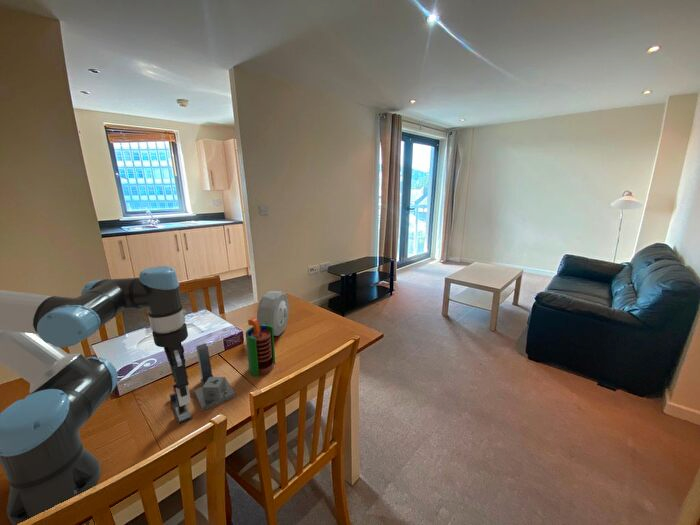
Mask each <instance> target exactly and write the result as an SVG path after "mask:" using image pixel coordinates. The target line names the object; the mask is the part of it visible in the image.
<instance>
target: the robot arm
mask: <svg viewBox="0 0 700 525" xmlns="http://www.w3.org/2000/svg"><path fill="white" fill-rule="evenodd" d="M138 276H139V277H129V278H102V279H99V280H92V281H89V282H87V283H86V284H85V285H84V288H83V289H82V290H81V291H80V295H79V296H77V297H67V296H66V297H65V296H57V295H55V296H54V295H47V294H46V295H45V294H38V293H31V292H30V293H29V292H23V291H22V292H20V291H15V290H13V291H12V290H4V289H3V290H2V289H0V364H1V365H2V366H4V367H5V368H7V369H8V370H10V371H11V372H13V373H15V374H16V375H18V377H20V378H21V379H23V380H25V381H26V382H28V383H29V385H30V386H29V394H28V395H26V396H25V397H24V398H23V399H18V400H16V401H15V402H12V404H10V405H9V406H7V407H6V408H5V409H3V410H2V411H1V412H0V465H1V468H2V470H3V472H4V474H5V476H6V479H7V481H8V483H9V493H8V500H7V505H6V514H7V517H8V521H9V522H10V524H11V525H17V524H18V523H20V522H23V521H25V520H27V519H29V518H31V517H33V516H35V515H37V514H39V513H41V512H44V511H45V510H48V509H50V508H52V507H54V506H55V505H57V504H59V503H62V502H64V501H66V500H68V499H70V498H72V497H74V496H76V495H78V494H80V493H82V492H84V491H86V490H88V489H90V488H92V487H93V486H95V485H96V486H97V483H98V482H99V480H100V478H101V474H102V473H101V472H102V469H101V465H100V461H99V460H98V459H97V457H96V456H94V454H92V453H91V452H90V451H89V450H88V449H87V448H85V447H84V446H83V442H82V439H81V435H80V430H81V429H82V428H83V427H84V425H85V424H86V423H87V422H88V421H89V419H91V417H92V416H93V415H94V413H96V411H97V410H98V409H99V408H100V407H101V405H102V404H103V403H104V402H106V401H107V400H108V399H109V398H110V395H111V394H112V393H113V391H114V390H115V388H116V387H117V384H118V381H119V380H118V378H119V377H118V375H119V374H118V371H117V368H116V367H115V366H114V365H113V363H112V362H110V361H109V360H108V359H106V358H103V357H100V356H99V357H96V356H90V357H89V356H88V357H85V355H83V354H81V353H68V352H66V351H65V350H64V349H62V348H69V347H73V346H75V345H78V344H80V343H81V342H83V341H84V340H86V339H89V337H91V336H92V335H94V334H96V332H97V331H98V330H99V329H100V328H102V327H103V326H104V325H106V324H107V323H109V322H110V321H111V320H112V319H114V318H115V317H117V316H118V315H119V314H120V313H121V312H122V311H127V310H134V309H136V310H137V309H143V308H145V309H146V312H147V317H148V321H149V326H150V329H151V331H152V337H153V343H154V344H155V346H157V347H159V348H163V350H164V353H165V355H166V359H167V361H168V363H169V366H170V369H171V376H172V378H173V382H174V384H173V385H172V387H173V388H174V389H175V388H176V392H177V396H178V401H179V405H180V407H181V406H183V405H186V404H187V405H189V404H190V403H192V399H191V395H190V391H189V390H190V389H189V381H188V378H189V376H188V374H187V368H186V358H185V349H184V346H183V345H182V342H184V341H186V340H187V338H188V336H189V333H188V332H189V331H188V326H187V323H186V316H185V314H186V313H187V310H186V309H184V308H183V307H184V306H183V300H182V296H181V290H180V282H179V279H178V277H177V273H176V270H175V269H174V267H171V266H168V265H160V266H155V267H154V266H152V267H148V268H144V269H143V270H141V271H140V272H139V274H138ZM173 388H172V389H173Z"/></svg>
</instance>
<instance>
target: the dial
mask: <svg viewBox="0 0 700 525" xmlns="http://www.w3.org/2000/svg"><path fill="white" fill-rule="evenodd" d="M289 314H290V305H289V299H288V297H287V295H286V294H285V292H284V291H281V290H279V291H278V290H268V291H266V292H265V293H264V294H263V295H262V296H261V298H260V300H259V304H258V307H257V310H256V319H257V320H258V322H259V325H270V326H272V327H273V335H274V337H275V336H276V337H279V336H280V335H281V334H282V333H283V332H284V330H285V328H286V327H287V323H288V320H289Z"/></svg>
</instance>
